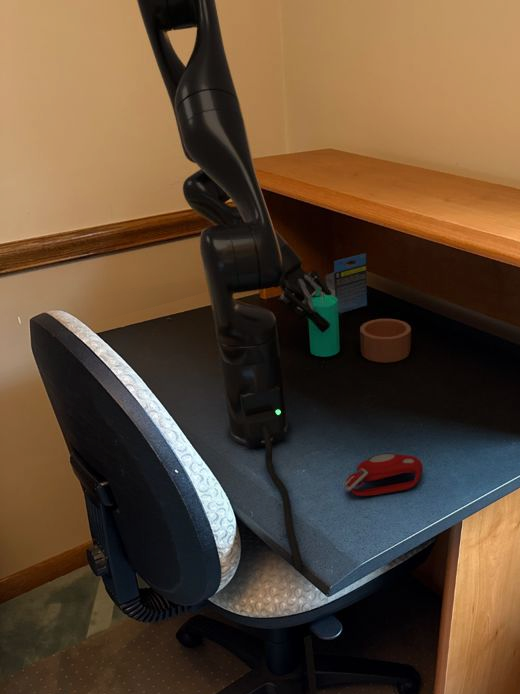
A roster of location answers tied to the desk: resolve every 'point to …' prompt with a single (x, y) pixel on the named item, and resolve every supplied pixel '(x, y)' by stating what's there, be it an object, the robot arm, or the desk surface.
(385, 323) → the holder
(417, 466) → the tracker holder
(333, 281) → the tape cartridge
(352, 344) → the desk surface
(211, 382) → the desk surface
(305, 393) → the desk surface
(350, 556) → the desk surface
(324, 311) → the candle
